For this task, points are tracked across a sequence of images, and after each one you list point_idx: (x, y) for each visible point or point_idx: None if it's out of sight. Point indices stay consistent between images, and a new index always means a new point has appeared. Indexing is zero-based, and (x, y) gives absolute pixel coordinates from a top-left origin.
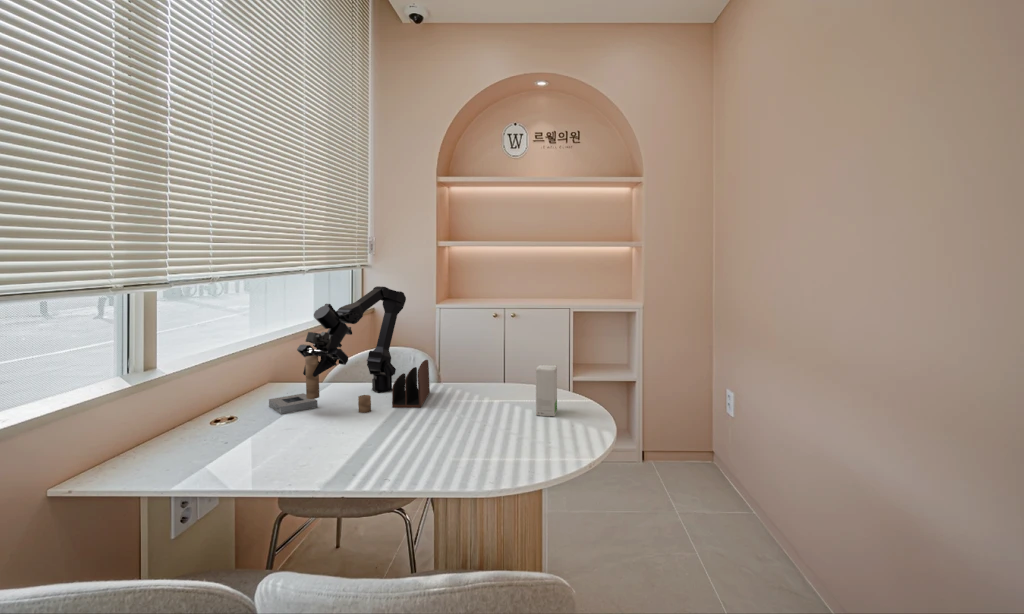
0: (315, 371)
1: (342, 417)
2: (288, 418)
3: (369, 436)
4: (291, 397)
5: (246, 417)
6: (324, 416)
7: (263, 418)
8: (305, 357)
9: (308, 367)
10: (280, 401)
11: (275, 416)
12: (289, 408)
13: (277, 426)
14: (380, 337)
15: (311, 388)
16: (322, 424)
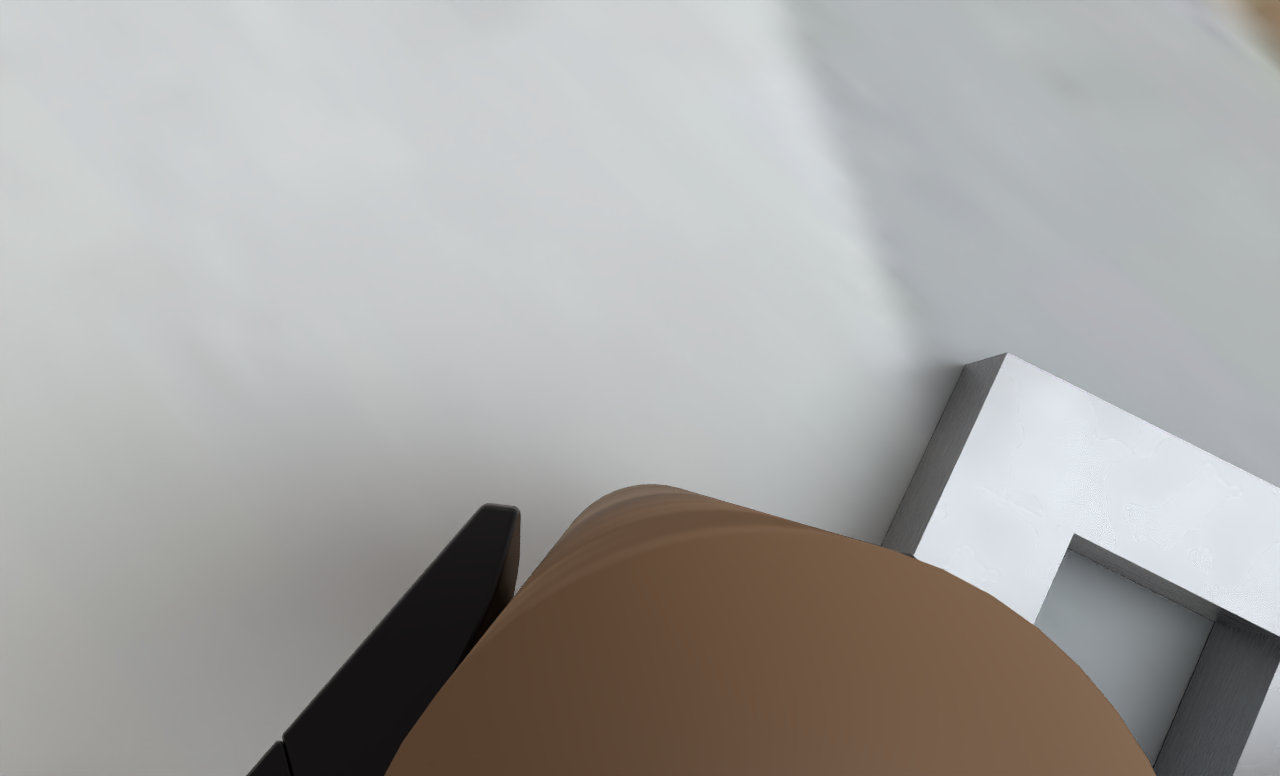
0: (430, 575)
1: (183, 551)
2: (766, 276)
3: None
4: None
5: (1233, 131)
6: (420, 499)
7: (1029, 172)
8: (1010, 624)
9: (663, 508)
10: (1223, 557)
11: (964, 280)
12: (943, 453)
13: (662, 15)
14: None
15: (596, 506)
16: (239, 246)
